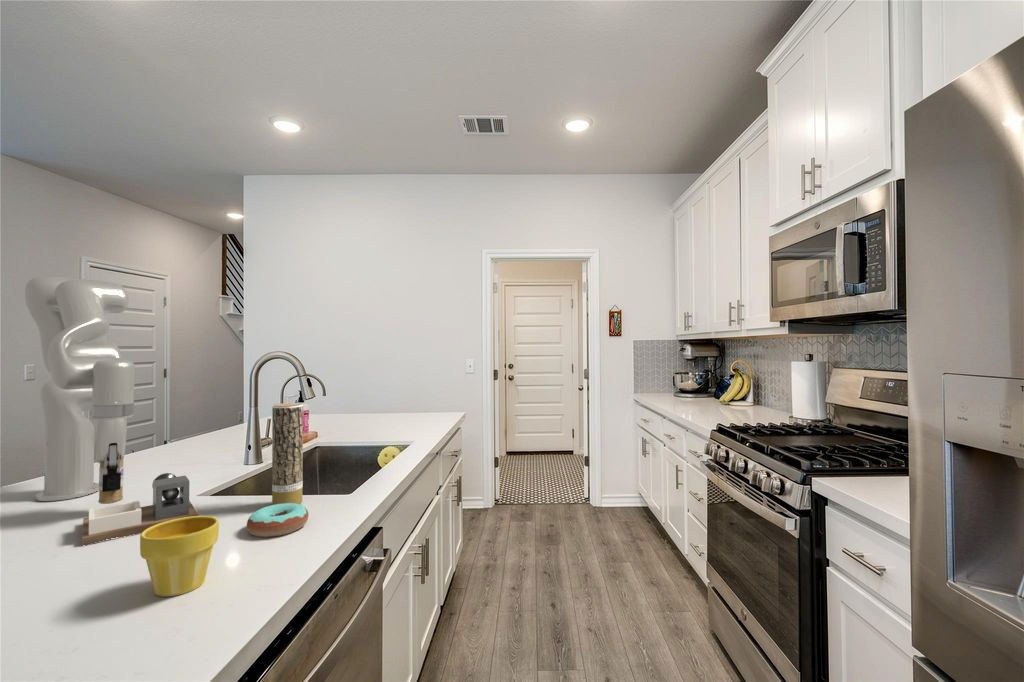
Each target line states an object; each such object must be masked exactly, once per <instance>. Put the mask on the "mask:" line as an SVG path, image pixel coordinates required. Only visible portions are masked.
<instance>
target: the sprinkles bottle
mask: <svg viewBox="0 0 1024 682" xmlns="http://www.w3.org/2000/svg"><path fill="white" fill-rule="evenodd" d="M116 446H117V444H116ZM120 456H121V455H120ZM104 460H105V459H104ZM116 460H118V457H116ZM107 461H109V458H107ZM116 464H117V463H116ZM108 465H109V464H107V466H108ZM120 472H121V488H120V489H119V490H114V491H108V492H103V491H102V482H103V475H104V461H100V463H99V472H98V475H99V476H98V483H99V491H98V493H99V494H98V501H97V502H98V504H101V505H106V504H107V505H110V504H115V503H117V502H120V501H122V500H124V499H123V498H124V496H123V492H124V491H123V490H124V488H123V487H124V472H125V470H124V459H122V460H120Z"/></svg>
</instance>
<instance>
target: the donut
mask: <svg viewBox="0 0 1024 682" xmlns="http://www.w3.org/2000/svg"><path fill="white" fill-rule="evenodd" d="M308 520H309V512H308V509H307V508H306V506H304V505H303V504H301V503H300V504H295V503H284V504H276V505H272V504H271V505H269V506H264V507H262V508H260V509H258V510H256V511H254V512H252V514H250V516H249V517H248V519H247V521H246V529H247V530H248V532H249V533H250V535H253V536H255V537H259V538H274V537H280V536H286V535H289V534H291V533H295V532H297V531H298V530H300V529H301V528H302V527H304V526H305V525H306V524H307V522H308Z"/></svg>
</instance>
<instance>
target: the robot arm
mask: <svg viewBox="0 0 1024 682" xmlns="http://www.w3.org/2000/svg"><path fill="white" fill-rule="evenodd" d="M24 301H25V304H26V307H27V310H28V312H29V313H30V315H31V318H32V320H33V321H34V322H35V324H36V327H37V328H38V331H39V337H40V344H41V353H42V359H43V360H42V361H43V363H44V366H45V369H46V370H47V371H48V372H49V373H50V377H51V379H50V380H47V381H46V382H44V383H43V384H42V386H41V387H40V390H39V391H40V393H39V394H40V402H41V406H42V411H43V418H44V473H43V474H44V478H43V479H44V482H43V485H44V486H43V487H44V488H43V490H42V491H40V492H38V493H36V494H35V500H36V501H38V502H52V501H53V502H54V501H55V502H56V501H64V500H65V501H66V500H71V499H76V497H77V498H81V497H84V496H89V495H91V493H92V494H94V492H95V493H97V492H99V491H98V490H99V482H95V481H94V479H95V477H94V475H95V473H94V472H95V462H96V463H97V464H100V461H104V475H103V482H102V491H103V492H108V491H114V490H119V489H120V488H121V472H120V460H122V459H123V460H124V458H125V454H126V446H127V432H128V428H127V427H128V419H129V418H133V417H134V415H135V413H134V411H135V409H134V408H135V407H134V405H135V404H134V403H135V376H136V373H135V372H136V370H135V369H136V368H135V364H134V361H132V360H128V359H124V358H123V357H122V353H121V350H120V347H118V345H117V344H116V343H114V342H111V341H109V340H108V341H107V340H98V339H100V338H102V337H103V336H105V335H106V334H107V333H108V332H109V330H110V328H111V327H110V322H109V319H108V316H107V314H121V313H123V312H125V311H126V310H127V308H128V306H129V295H128V293H127V291H126V289H125V288H124V287H123V285H121V284H119V283H115V282H110V281H103V280H95V279H85V278H84V279H83V278H75V277H74V278H73V277H67V276H66V277H65V276H51V275H50V276H49V275H46V276H45V275H44V276H42V275H41V276H36V277H32V278H31V279H29V280H28V281H27V282H26V284H25V287H24ZM106 313H107V314H106ZM87 411H91V420H90V419H89V418H87V417H86V416H85V415H84V414H83V412H87ZM93 420H94V421H97V423H96V431H95V426H94V424H93V422H92V421H93ZM95 432H96V433H95ZM95 435H96V439H95ZM95 440H96V441H95ZM116 444H117V446H116ZM120 455H121V456H120ZM116 457H118V460H116ZM107 458H109V461H107ZM104 459H105V460H104ZM116 463H117V464H116ZM107 464H109V465H108V466H107ZM96 491H97V492H96ZM88 494H89V495H88Z"/></svg>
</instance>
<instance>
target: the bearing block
mask: <svg viewBox="0 0 1024 682" xmlns="http://www.w3.org/2000/svg"><path fill="white" fill-rule="evenodd" d="M152 484H153V487H152V505H153V516H154V518H155V521H158V520H163V519H168V518H172V517H177V516H182V515H187V514H189V501H190V480H189V478H188V477H187V475H181V476H180V475H179V476H176V477H172V478H166V479H160V480H155V479H154V480H153V481H152ZM173 488H179V496H178V497H177V498H176V499H174V500H171V501H167V500H165V499H163V496H162V490H167V489H173Z"/></svg>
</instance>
